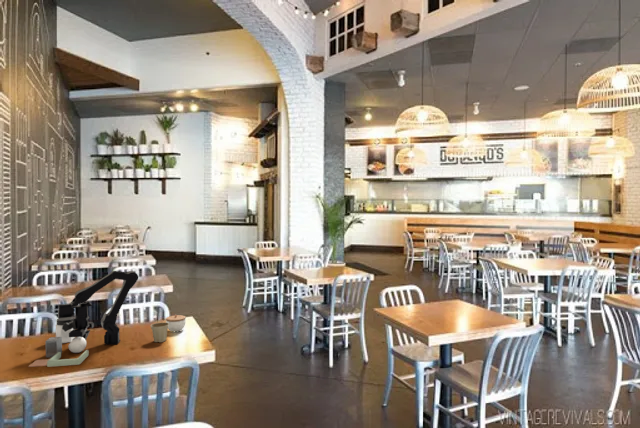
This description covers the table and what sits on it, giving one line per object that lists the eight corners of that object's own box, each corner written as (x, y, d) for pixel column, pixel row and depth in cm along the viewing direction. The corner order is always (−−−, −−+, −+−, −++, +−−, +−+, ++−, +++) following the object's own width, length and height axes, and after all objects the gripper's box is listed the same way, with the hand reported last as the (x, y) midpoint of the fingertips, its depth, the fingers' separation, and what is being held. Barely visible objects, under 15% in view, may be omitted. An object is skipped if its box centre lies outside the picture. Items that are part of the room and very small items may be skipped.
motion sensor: (75, 349, 223) (75, 334, 223) (90, 350, 223) (89, 334, 222) (65, 355, 215) (64, 339, 215) (79, 355, 215) (79, 339, 214)
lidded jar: (163, 330, 256) (162, 314, 256) (180, 327, 263) (180, 311, 263) (171, 334, 248) (170, 318, 248) (189, 330, 255) (188, 314, 255)
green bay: (58, 357, 212) (58, 352, 212) (88, 355, 214) (88, 350, 214) (47, 366, 199) (47, 361, 199) (79, 364, 202) (79, 359, 202)
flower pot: (146, 342, 234) (146, 326, 234) (159, 337, 243) (159, 321, 243) (160, 344, 231) (160, 327, 231) (173, 339, 239) (172, 323, 239)
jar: (56, 344, 232) (56, 321, 232) (55, 340, 239) (55, 318, 239) (75, 341, 237) (75, 319, 237) (74, 337, 244) (74, 316, 244)
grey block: (62, 352, 219) (61, 336, 218) (57, 357, 212) (56, 340, 212) (50, 353, 218) (49, 337, 217) (44, 357, 211) (44, 341, 211)
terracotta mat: (55, 359, 209) (55, 358, 209) (48, 365, 201) (48, 364, 201) (36, 360, 207) (36, 360, 207) (28, 366, 199) (28, 366, 199)
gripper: (71, 312, 233) (71, 341, 233) (56, 321, 215) (57, 353, 215) (94, 311, 235) (94, 340, 235) (81, 319, 217) (82, 351, 217)
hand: (82, 346), depth 226 cm, fingers closed
